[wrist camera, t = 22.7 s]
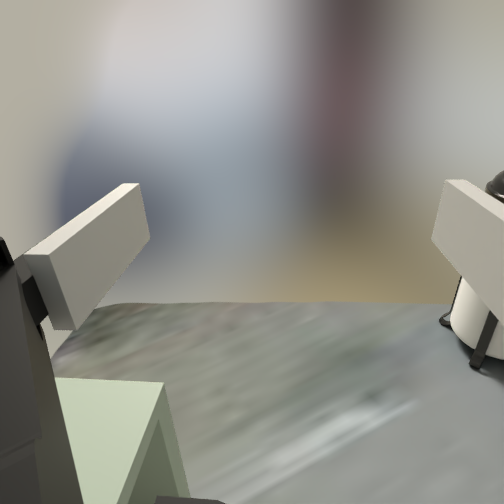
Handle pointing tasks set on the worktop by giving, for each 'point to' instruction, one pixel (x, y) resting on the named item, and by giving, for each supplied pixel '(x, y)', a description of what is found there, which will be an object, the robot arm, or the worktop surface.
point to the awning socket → (122, 440)
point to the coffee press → (478, 308)
